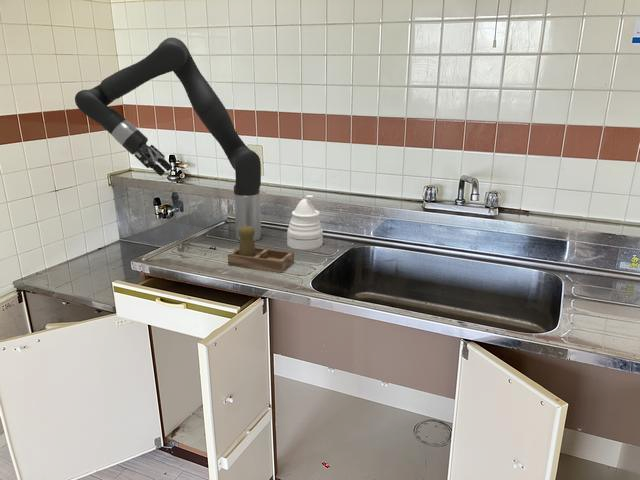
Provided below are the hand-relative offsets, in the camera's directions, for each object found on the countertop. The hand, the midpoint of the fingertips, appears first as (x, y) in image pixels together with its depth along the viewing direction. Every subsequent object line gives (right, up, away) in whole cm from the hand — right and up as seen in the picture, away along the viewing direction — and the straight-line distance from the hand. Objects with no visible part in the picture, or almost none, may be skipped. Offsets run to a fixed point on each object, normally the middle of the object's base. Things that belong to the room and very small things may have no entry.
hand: (166, 171), depth 174 cm
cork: (+28, -30, -7) cm, 42 cm away
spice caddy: (+33, -31, -8) cm, 46 cm away
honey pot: (+47, -25, +12) cm, 54 cm away
